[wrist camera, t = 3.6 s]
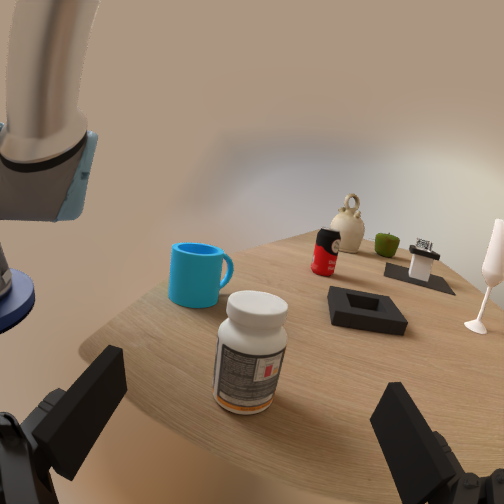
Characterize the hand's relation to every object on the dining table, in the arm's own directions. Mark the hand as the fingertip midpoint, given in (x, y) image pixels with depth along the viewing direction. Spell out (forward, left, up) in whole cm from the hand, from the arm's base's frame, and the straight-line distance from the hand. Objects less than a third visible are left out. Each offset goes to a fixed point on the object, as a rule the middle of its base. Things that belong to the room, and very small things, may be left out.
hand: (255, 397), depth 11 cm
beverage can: (+7, +62, -9) cm, 63 cm away
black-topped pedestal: (+45, +83, -9) cm, 95 cm away
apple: (+41, +119, -9) cm, 126 cm away
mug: (-14, +31, -9) cm, 35 cm away
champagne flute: (+44, +39, -9) cm, 59 cm away
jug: (+19, +111, -9) cm, 113 cm away
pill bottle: (-2, +10, -9) cm, 13 cm away
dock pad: (+14, +37, -9) cm, 40 cm away
